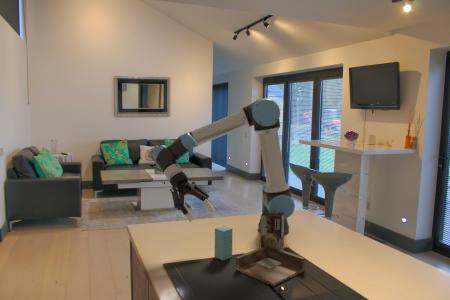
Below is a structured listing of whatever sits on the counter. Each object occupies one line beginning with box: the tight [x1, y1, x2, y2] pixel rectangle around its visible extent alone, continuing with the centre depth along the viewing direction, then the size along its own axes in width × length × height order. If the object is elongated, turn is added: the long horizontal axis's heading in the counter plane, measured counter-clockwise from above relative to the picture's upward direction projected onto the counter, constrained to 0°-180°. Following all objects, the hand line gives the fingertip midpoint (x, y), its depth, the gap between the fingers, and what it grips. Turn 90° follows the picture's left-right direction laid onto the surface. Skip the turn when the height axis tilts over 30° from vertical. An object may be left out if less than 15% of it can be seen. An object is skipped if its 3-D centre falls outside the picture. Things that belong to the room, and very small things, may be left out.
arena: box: [235, 245, 306, 286], centre depth 142 cm, size 18×18×5 cm
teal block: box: [214, 225, 233, 261], centre depth 154 cm, size 5×5×12 cm
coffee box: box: [260, 211, 285, 251], centre depth 161 cm, size 9×6×16 cm
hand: (203, 216), depth 159 cm, fingers open, 13 cm apart
